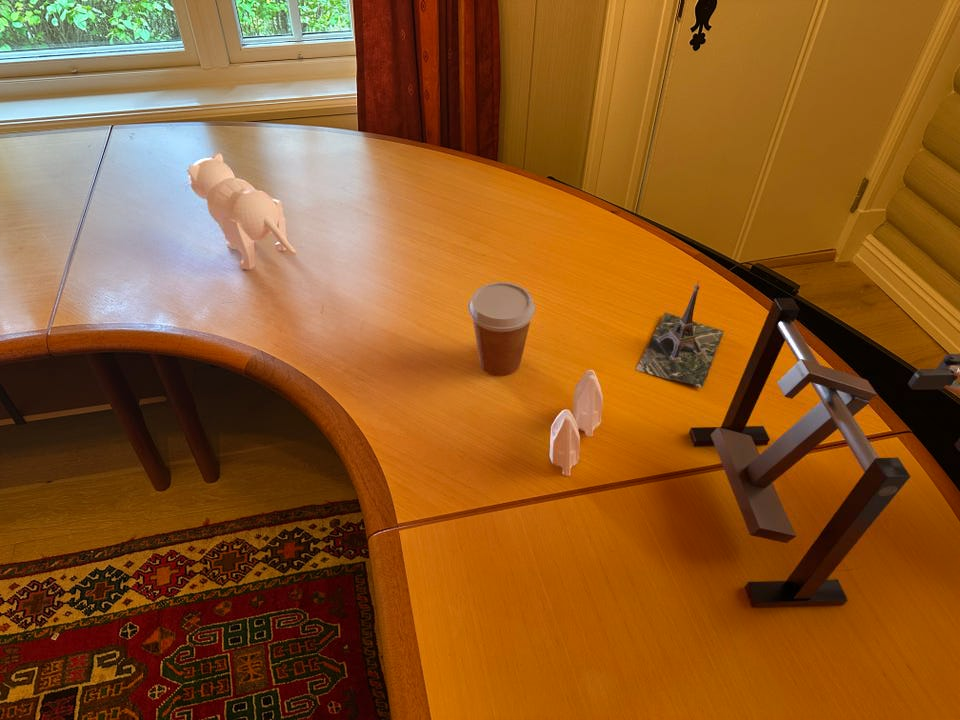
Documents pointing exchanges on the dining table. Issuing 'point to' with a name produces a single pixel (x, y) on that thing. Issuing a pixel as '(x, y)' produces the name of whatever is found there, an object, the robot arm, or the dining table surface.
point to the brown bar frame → (783, 448)
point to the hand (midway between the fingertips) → (935, 409)
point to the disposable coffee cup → (501, 325)
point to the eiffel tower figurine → (681, 348)
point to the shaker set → (576, 422)
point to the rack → (859, 505)
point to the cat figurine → (238, 208)
